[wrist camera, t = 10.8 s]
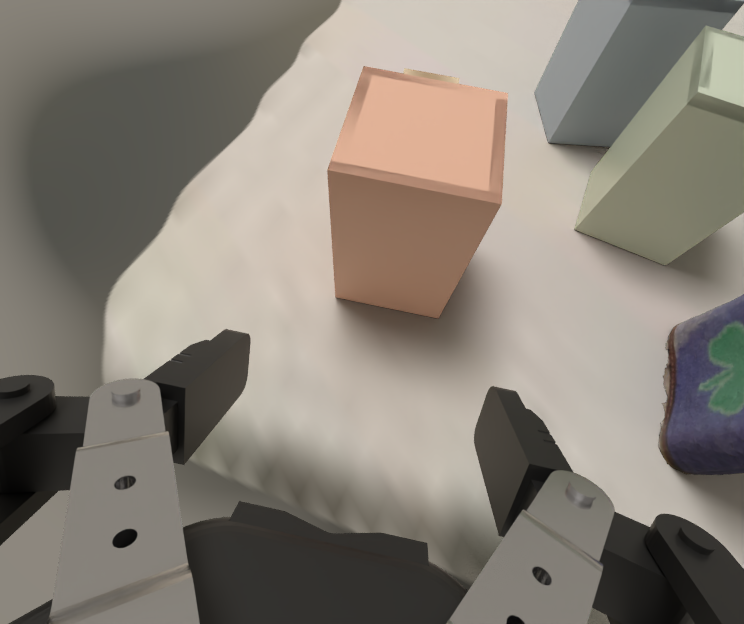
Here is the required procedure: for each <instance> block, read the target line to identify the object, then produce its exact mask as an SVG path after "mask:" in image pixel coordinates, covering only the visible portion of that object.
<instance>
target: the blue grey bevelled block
mask: <svg viewBox="0 0 744 624" xmlns="http://www.w3.org/2000/svg"><path fill="white" fill-rule="evenodd" d="M743 4H744V0H578V2H577V4H576V6H575V8H574V11H573V13H572V15H571V17H570V19H569V21H568V23H567V25H566V27H565V29H564V31H563V34H562V36H561V38H560V40H559V42H558V44H557V46H556V48H555V50H554V52H553V54H552V57H551V59H550V61H549V63H548V65H547V67H546V69H545V71H544V73H543V75H542V77H541V79H540V82H539V84H538V86H537V88H536V90H535V96H536V100H537V103H538V107H539V111H540V114H541V118H542V122H543V125H544V129H545V133H546V136H547V140H548V143H558V144H573V145H589V146H604V147H611V146H612V144H613V143H614V142H615V141H616V139H617V138H618V137H619V136H620V134H621V133H622V132H623V130H624V129H625V128H626V127H627V125H628V124H629V123H630V122H631V120H632V119H633V118H634V116H635V115H636V114H637V113H638V111H639V110H640V109H641V107H642V106H643V105H644V104H645V102H646V101H647V100H648V99H649V97H650V96H651V95H652V93H653V92H654V91H655V90H656V88H657V87H658V86H659V85H660V83H661V82H662V81H663V79H664V78H665V77H666V76H667V74H668V73H669V72H670V70H671V69H672V68H673V67H674V65H675V64H676V63H677V62H678V60H679V59H680V58H681V56H682V55H683V54H684V53H685V51H686V50H687V49H688V48H689V46H690V45H691V44H692V42H693V41H694V40H695V39H696V37H697V36H698V35H699V33H700V32H701V31H702V30H703V28H704V27H705V26H706V25H707V26H710V27H713V28H717V29H720V30H722V29H723V28H724V27H725V25H726V24H727V23H728V22H729V21H730V19H731V18H732V17H733V16H734V15H735V13H736V12H737V11H738V10H739V9H740V7H741V6H742V5H743Z"/></svg>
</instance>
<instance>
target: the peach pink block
mask: <svg viewBox="0 0 744 624" xmlns="http://www.w3.org/2000/svg"><path fill="white" fill-rule="evenodd" d="M507 98H508V93H504V92H499V91H493V90H488V89H483V88H477V87H472V86H467V85H461V84H456V83H451V82H445V81H440V80H435V79H429V78H424V77H419V76H413V75H408V74H403V73H397V72H392V71H387V70H381V69H376V68H371V67H365V66H364V67H363V69H362V72H361V75H360V78H359V81H358V84H357V87H356V90H355V92H354V95H353V98H352V101H351V104H350V107H349V110H348V112H347V115H346V118H345V121H344V124H343V127H342V130H341V132H340V135H339V138H338V141H337V144H336V147H335V150H334V152H333V155H332V158H331V161H330V164H329V167H328V170H327V172H328V187H329V203H330V219H331V234H332V250H333V265H334V281H335V297H337V298H341V299H346V300H351V301H356V302H361V303H365V304H370V305H375V306H380V307H385V308H390V309H394V310H399V311H404V312H409V313H414V314H419V315H423V316H428V317H433V318H439V316H440V315H441V313H442V311H443V309H444V307H445V305H446V304H447V302H448V300H449V298H450V296H451V295H452V293H453V291H454V289H455V287H456V286H457V284H458V282H459V280H460V278H461V277H462V275H463V273H464V271H465V269H466V268H467V266H468V264H469V262H470V260H471V259H472V257H473V255H474V253H475V251H476V250H477V248H478V246H479V244H480V242H481V240H482V239H483V237H484V235H485V233H486V231H487V230H488V228H489V226H490V224H491V222H492V221H493V219H494V217H495V215H496V213H497V212H498V210H499V208H500V206H501V204H502V188H503V170H504V152H505V134H506V116H507Z"/></svg>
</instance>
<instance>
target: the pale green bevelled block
mask: <svg viewBox="0 0 744 624" xmlns="http://www.w3.org/2000/svg"><path fill="white" fill-rule="evenodd" d="M743 212H744V37H743V36H740V35H736V34H733V33H730V32H726V31H723V30H720V29H717V28H713V27H710V26H707V25H706V26H705V27H704V28H703V30H702V31H701V32H700V33H699V35H698V36H697V37H696V39H695V40H694V41H693V42H692V44H691V45H690V46H689V48H688V49H687V50H686V51H685V53H684V54H683V55H682V56H681V58H680V59H679V60H678V62H677V63H676V64H675V65H674V67H673V68H672V69H671V70H670V72H669V73H668V74H667V76H666V77H665V78H664V79H663V81H662V82H661V83H660V85H659V86H658V87H657V88H656V90H655V91H654V92H653V93H652V95H651V96H650V97H649V99H648V100H647V101H646V102H645V104H644V105H643V106H642V107H641V109H640V110H639V111H638V113H637V114H636V115H635V116H634V118H633V119H632V120H631V122H630V123H629V124H628V125H627V127H626V128H625V129H624V130H623V132H622V133H621V134H620V136H619V137H618V138H617V139H616V141H615V142H614V143H613V144H612V146H611V147H610V148H609V150H608V151H607V152H606V153H605V155H604V156H603V157H602V158H601V160H600V161H599V162H598V164H597V165H596V166H595V167H594V169H593V170H592V171H591V174H590V178H589V181H588V185H587V188H586V191H585V195H584V198H583V202H582V205H581V209H580V212H579V215H578V219H577V222H576V226H575V229H574V230H577V231H579V232H582V233H584V234H587V235H589V236H592V237H594V238H597V239H599V240H602V241H605V242H607V243H610V244H612V245H615V246H617V247H620V248H622V249H625V250H627V251H630V252H632V253H635V254H637V255H640V256H642V257H645V258H647V259H650V260H652V261H655V262H657V263H660V264H662V265H665V266H666V265H667V264H669V263H670V262H672V261H673V260H675V259H676V258H677V257H679V256H680V255H682V254H683V253H685V252H686V251H688V250H689V249H691V248H692V247H694V246H695V245H697V244H698V243H699V242H701V241H702V240H704V239H705V238H707V237H708V236H710V235H711V234H713V233H714V232H716V231H717V230H718V229H720V228H721V227H723V226H724V225H726V224H727V223H729V222H730V221H732V220H733V219H735V218H736V217H738V216H739V215H740V214H742V213H743Z"/></svg>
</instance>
